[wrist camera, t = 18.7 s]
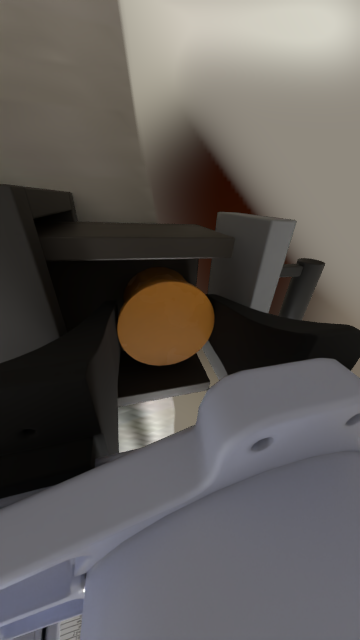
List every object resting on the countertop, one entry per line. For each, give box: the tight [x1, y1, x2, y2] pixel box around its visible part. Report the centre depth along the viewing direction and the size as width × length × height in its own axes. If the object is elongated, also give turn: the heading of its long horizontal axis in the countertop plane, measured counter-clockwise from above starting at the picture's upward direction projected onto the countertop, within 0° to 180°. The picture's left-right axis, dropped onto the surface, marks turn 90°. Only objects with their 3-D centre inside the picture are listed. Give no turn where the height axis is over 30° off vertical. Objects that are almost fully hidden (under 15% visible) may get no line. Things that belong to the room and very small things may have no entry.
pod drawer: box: [34, 212, 325, 407], centre depth 12 cm, size 17×10×5 cm, turn 87°
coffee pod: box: [117, 267, 215, 366], centre depth 11 cm, size 5×5×3 cm
